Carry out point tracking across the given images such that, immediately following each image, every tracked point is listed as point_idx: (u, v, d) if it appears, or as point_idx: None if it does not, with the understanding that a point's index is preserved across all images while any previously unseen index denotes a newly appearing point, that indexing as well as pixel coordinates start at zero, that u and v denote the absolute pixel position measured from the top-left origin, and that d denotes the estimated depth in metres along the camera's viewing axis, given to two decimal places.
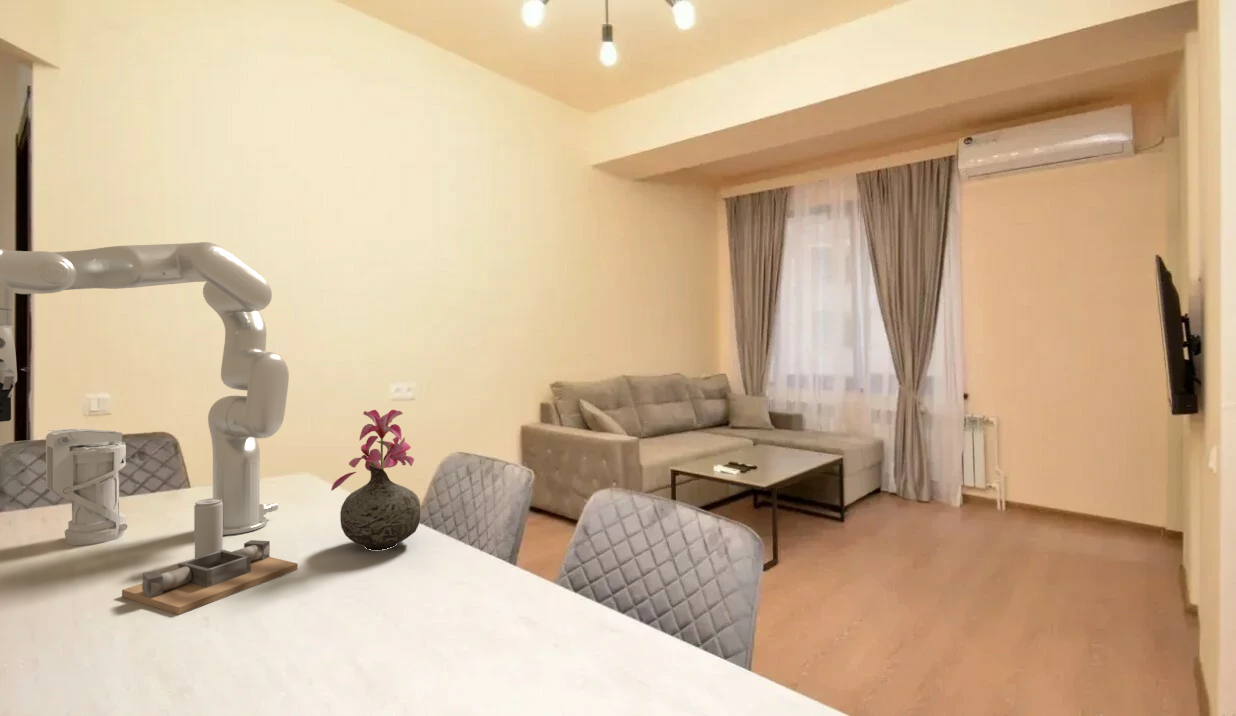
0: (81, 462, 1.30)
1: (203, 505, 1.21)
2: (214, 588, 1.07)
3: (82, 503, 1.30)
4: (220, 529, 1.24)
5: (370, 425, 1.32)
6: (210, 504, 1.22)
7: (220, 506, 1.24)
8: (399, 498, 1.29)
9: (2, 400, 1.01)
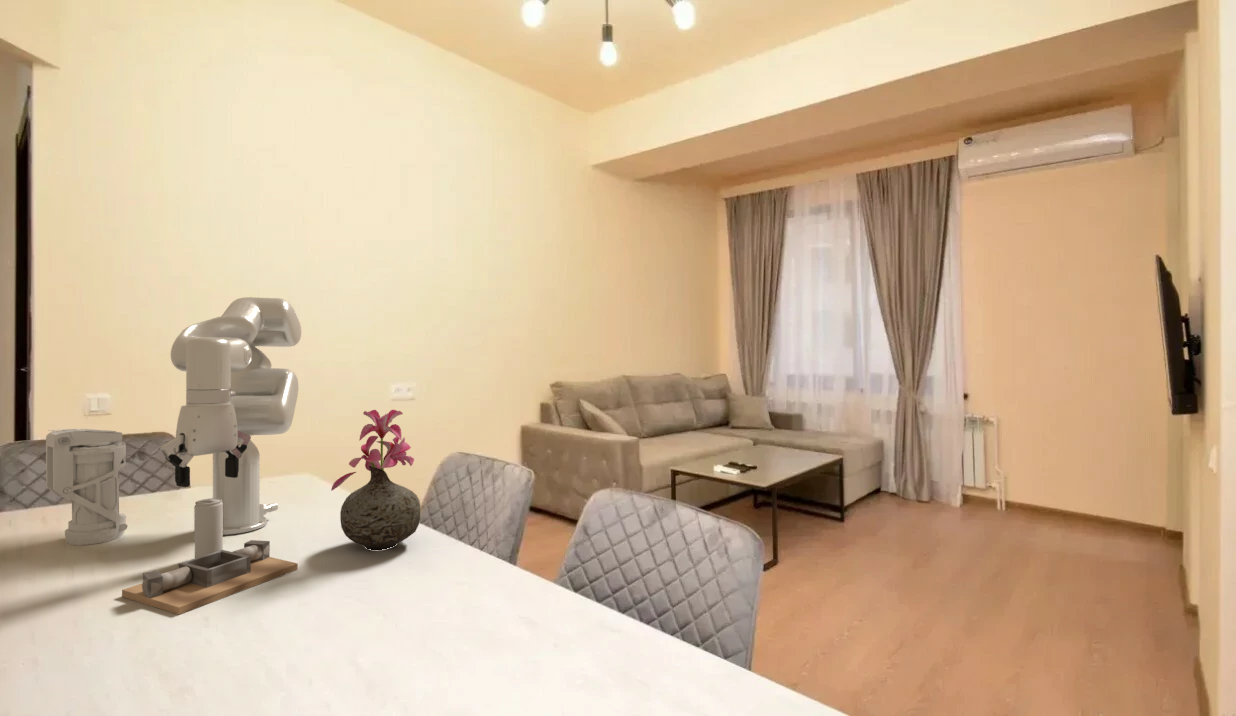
0: (81, 462, 1.30)
1: (203, 505, 1.21)
2: (214, 588, 1.07)
3: (82, 503, 1.30)
4: (220, 529, 1.24)
5: (370, 425, 1.32)
6: (210, 504, 1.22)
7: (220, 506, 1.24)
8: (399, 498, 1.29)
9: None
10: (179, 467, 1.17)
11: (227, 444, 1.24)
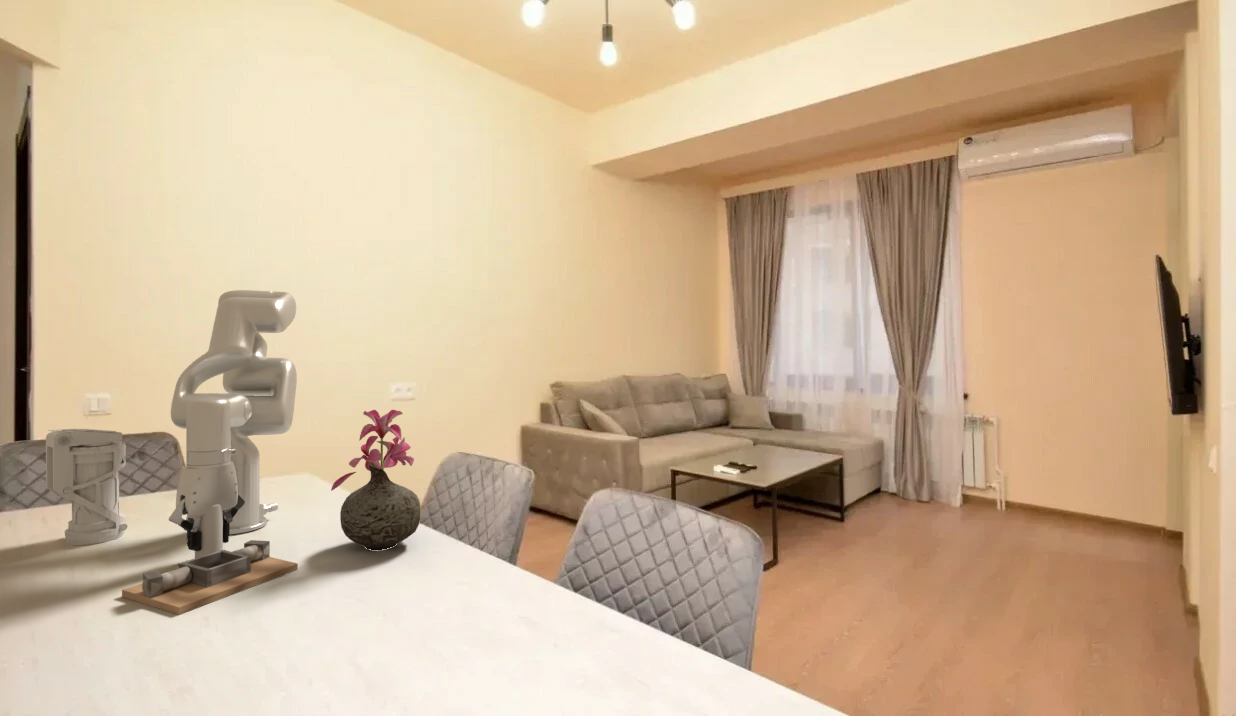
0: (81, 462, 1.30)
1: None
2: (214, 588, 1.07)
3: (82, 503, 1.30)
4: (220, 529, 1.24)
5: (370, 425, 1.32)
6: None
7: (220, 506, 1.24)
8: (399, 498, 1.29)
9: None
10: (191, 532, 1.20)
11: (228, 502, 1.25)
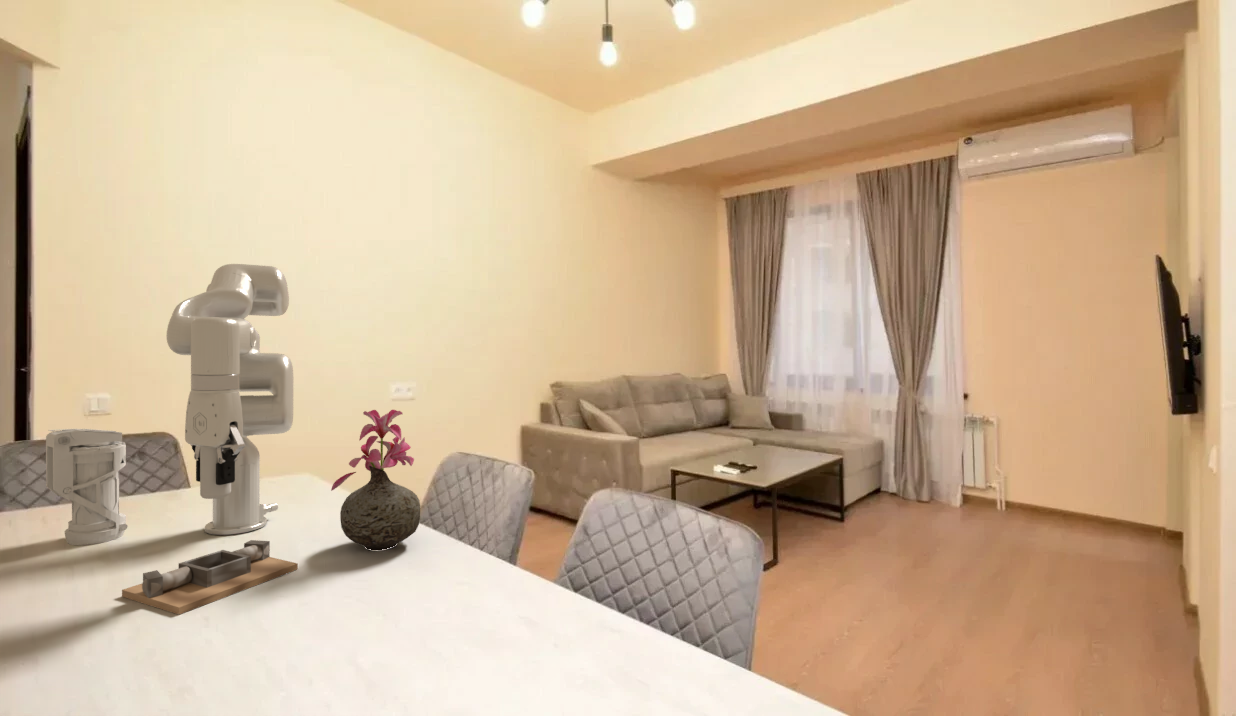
0: (81, 462, 1.30)
1: None
2: (214, 588, 1.07)
3: (82, 503, 1.30)
4: None
5: (370, 425, 1.32)
6: None
7: None
8: (399, 498, 1.29)
9: None
10: (232, 462, 1.11)
11: None
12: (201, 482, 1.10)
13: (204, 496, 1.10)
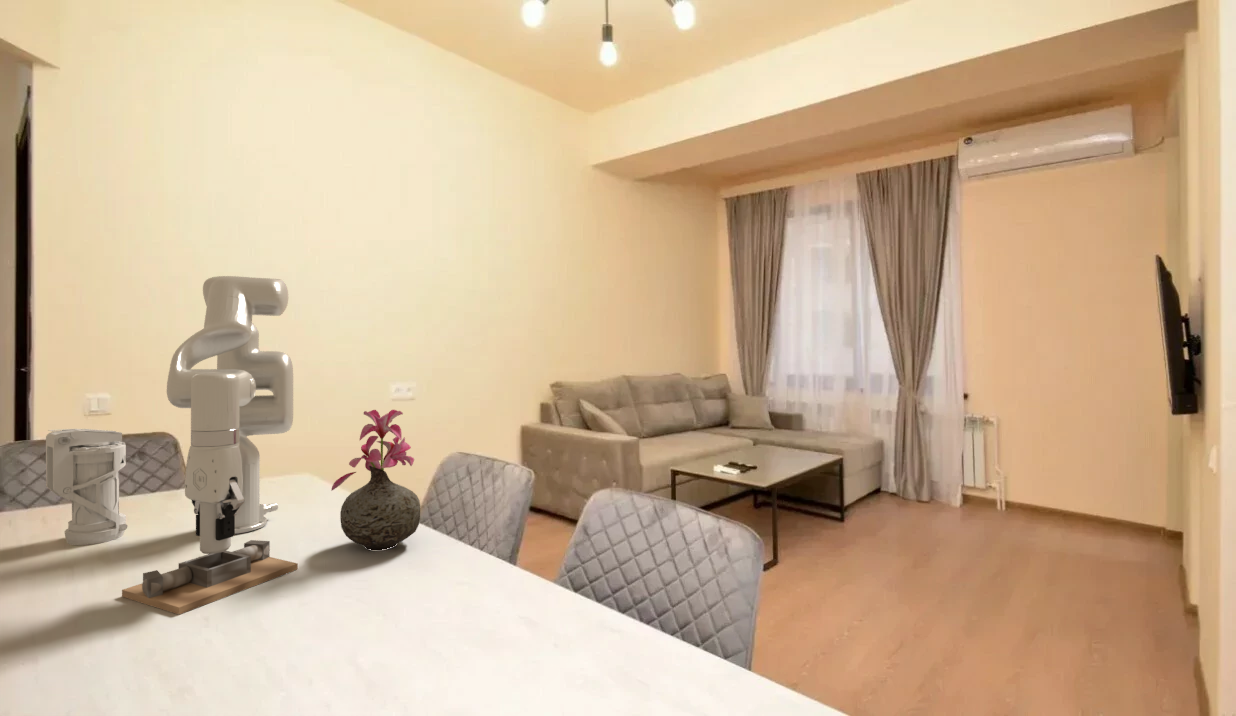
0: (81, 462, 1.30)
1: None
2: (214, 588, 1.07)
3: (82, 503, 1.30)
4: None
5: (370, 425, 1.32)
6: None
7: None
8: (399, 498, 1.30)
9: None
10: (232, 516, 1.11)
11: None
12: (201, 537, 1.10)
13: (204, 551, 1.10)
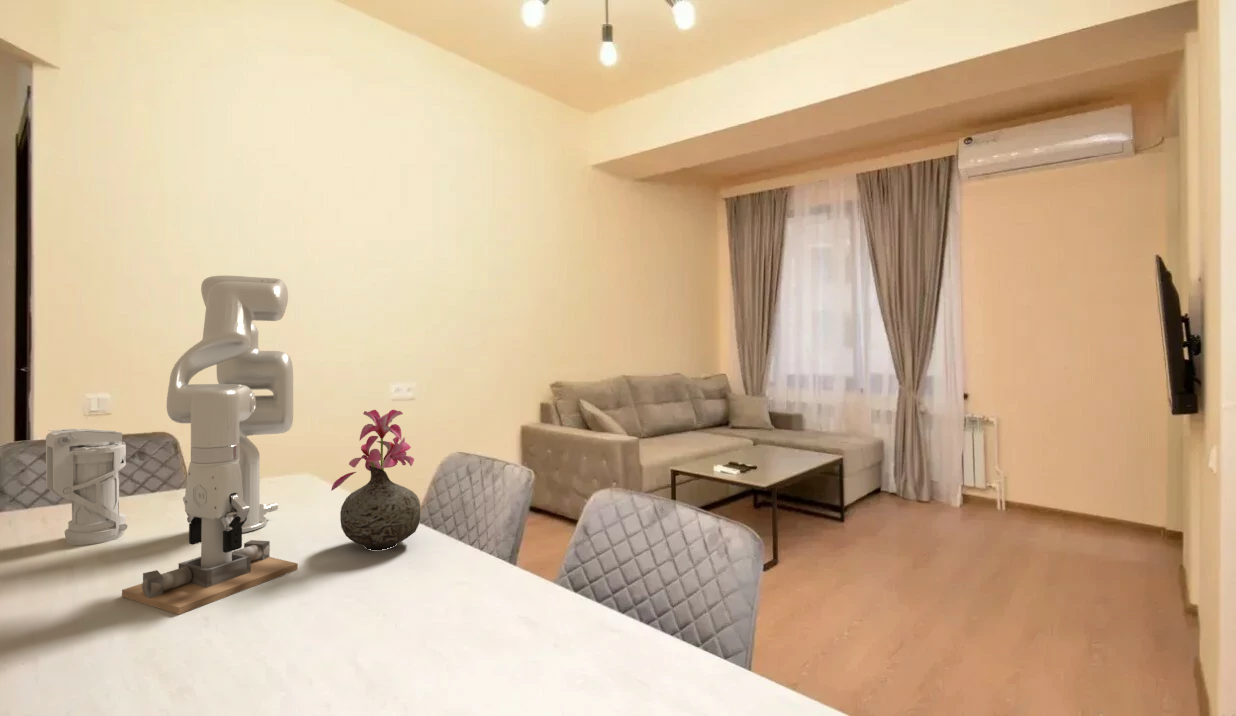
0: (81, 462, 1.30)
1: None
2: (214, 588, 1.07)
3: (82, 503, 1.30)
4: None
5: (370, 425, 1.32)
6: None
7: None
8: (399, 498, 1.30)
9: None
10: (239, 528, 1.10)
11: None
12: (202, 562, 1.10)
13: None
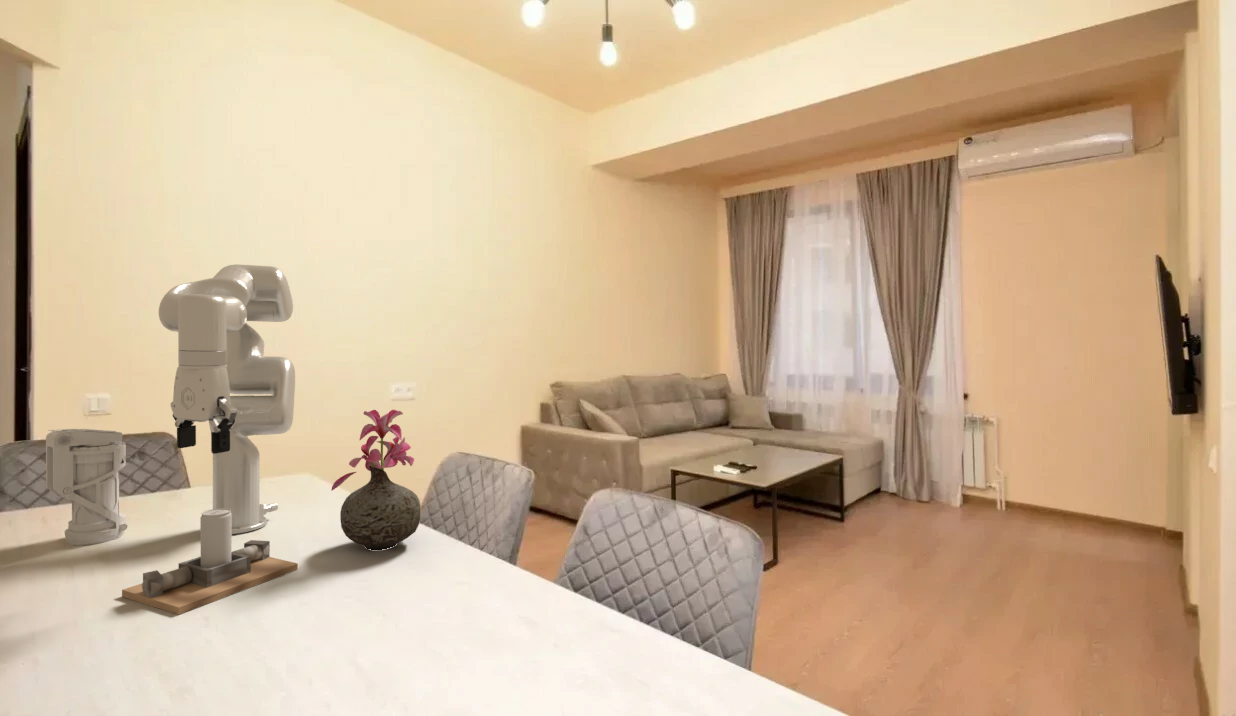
0: (81, 462, 1.30)
1: (229, 513, 1.12)
2: (214, 588, 1.07)
3: (82, 503, 1.30)
4: None
5: (370, 425, 1.32)
6: (230, 510, 1.13)
7: None
8: (399, 498, 1.29)
9: None
10: (227, 431, 1.13)
11: None
12: (201, 563, 1.10)
13: None
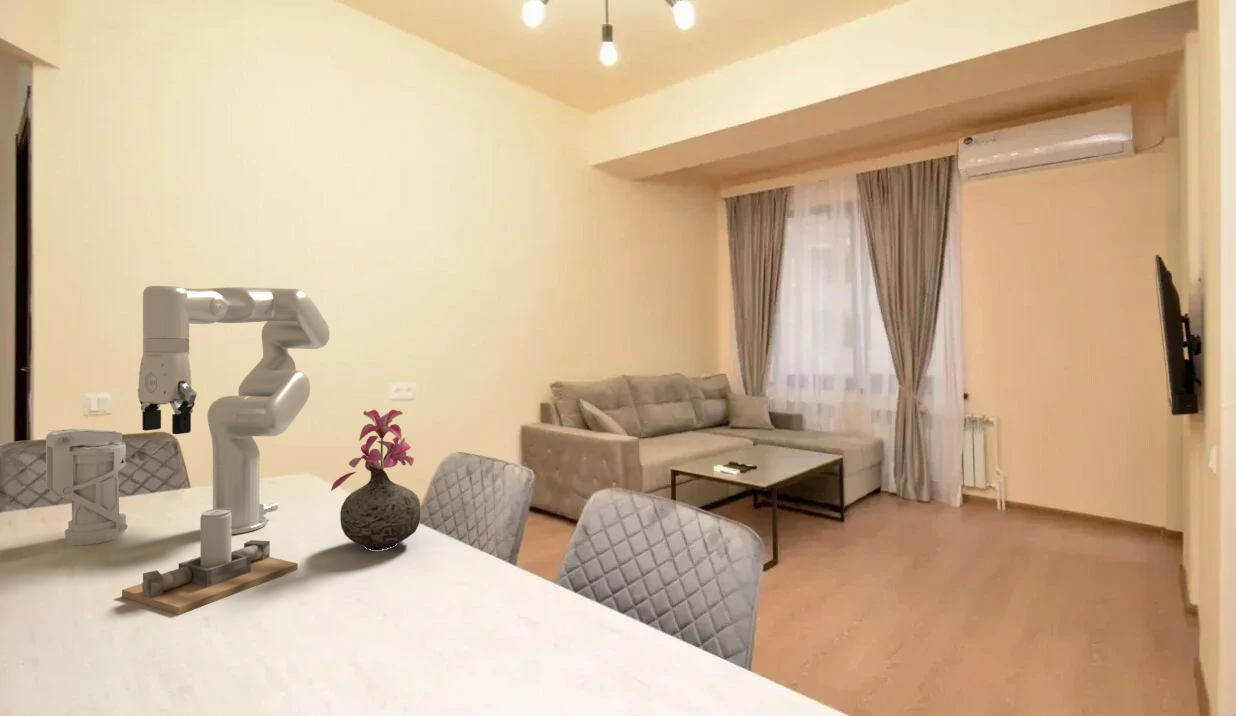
0: (81, 462, 1.30)
1: (228, 513, 1.12)
2: (214, 588, 1.07)
3: (82, 503, 1.30)
4: None
5: (370, 425, 1.32)
6: (230, 510, 1.13)
7: None
8: (399, 498, 1.29)
9: None
10: (188, 413, 1.20)
11: None
12: (201, 563, 1.10)
13: None
